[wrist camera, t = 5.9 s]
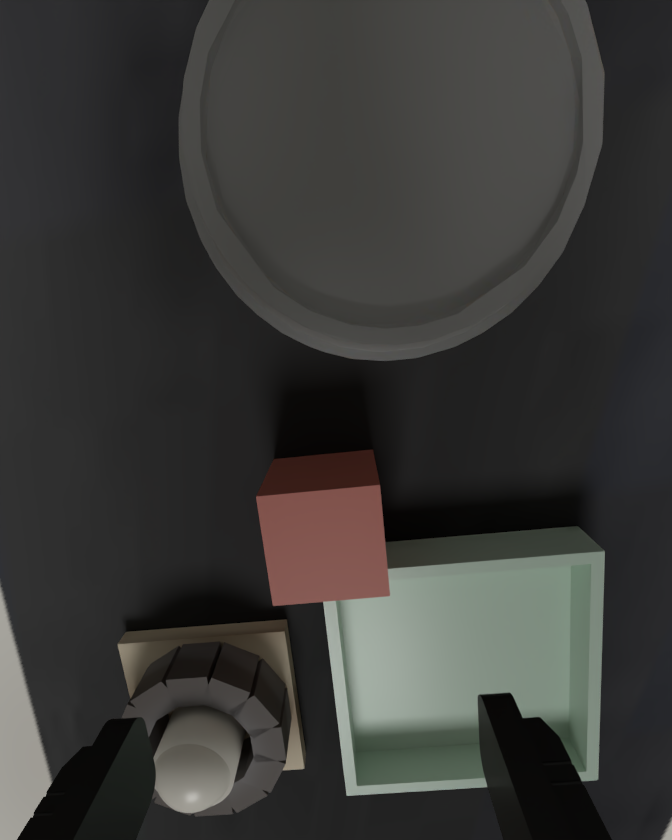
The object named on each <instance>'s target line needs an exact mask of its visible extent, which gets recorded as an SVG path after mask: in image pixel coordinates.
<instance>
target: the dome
mask: <svg viewBox="0 0 672 840" xmlns="http://www.w3.org/2000/svg"><path fill="white" fill-rule="evenodd" d="M245 733H246V730H245V729H244V728H243V727H242V725H241V724H240V723H239V722H238V721H237V720H236V719H235V718H234V717H233V716H232V715H230V714H227V713H225V712H222V711H219V710H217V709H214V708H212V707H209V706H206V705H203V706H189V707H177V708H176V709H174V711H173V713H172V715H171V718H170V720H169V722H168V725H167V727H166V729H165V732H164V734H163V737H162V739H161V741H160V744H159V746H158V748H157V751H156V753H155V755H154V758H153V759H154V763H155V769H156V781H155V789H156V791H157V792H158V793H159V795H160V797H161V799H162V800H163V801H164V802H165V803H166V804H167V805H168V806H169V807H171V808H172V809H174V810H176V811H179V812H183V813H195V812H200V811H203V810H205V809H207V808H209V807H211V806H214V805H216V804H218V803H220V802H221V801H223V800H224V799H225V798H226V797H227V796H228V795H229V793H230V792H231V790H232V787H233V784H234V780H235V776H236V771H237V767H238V763H239V759H240V754H241V750H242V746H243V741H244V737H245Z"/></svg>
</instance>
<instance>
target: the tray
mask: <svg viewBox="0 0 672 840" xmlns="http://www.w3.org/2000/svg"><path fill="white" fill-rule="evenodd" d="M385 545H386V556H387V567H388V578H389V589H390V596H386V597H374V598H362V599H350V600H338V601H327V602H323V604H324V612H325V620H326V629H327V637H328V645H329V653H330V662H331V670H332V678H333V686H334V695H335V703H336V711H337V719H338V728H339V736H340V744H341V752H342V761H343V769H344V777H345V785H346V794H347V796H351V795H367V794H383V793H399V792H415V791H431V790H447V789H463V788H479V787H487V783H486V780H485V776H484V772H483V767H482V762H481V756H480V746H479V722H478V695H480V694H494V693H508V692H510V693H511V694H512V695H513V697H514V699H515V702H516V704H517V706H518V708H519V711H520V713H521V715H522V717H523V718H531V717H540V718H541V719H542V720H543V721H544V722H545V723H546V724H547V725H548V726H549V727H550V728H551V729H552V730H553V731H554V732H555V733H556V734H557V735H558V736H559V737H560V739H561V741H562V743H563V745H564V747H565V749H566V751H567V753H568V755H569V757H570V759H571V762H572V765H574V766H575V768H576V770H577V772H578V774H579V776H580V778H581V781H591V780H598V764H599V730H600V697H601V663H602V629H603V596H604V562H605V551H604V550H603V549H602V548H601V547H600V546H599V545H598V544H597V543H595V542H594V541H593V540H592V539H591V538H590V537H589V536H588V535H587V534H586V533H585V532H584V531H583V530H581V529H580V528H579V527H578V526H572V527H560V528H548V529H537V530H525V531H513V532H501V533H489V534H477V535H465V536H453V537H441V538H429V539H417V540H405V541H393V542H385Z"/></svg>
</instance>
